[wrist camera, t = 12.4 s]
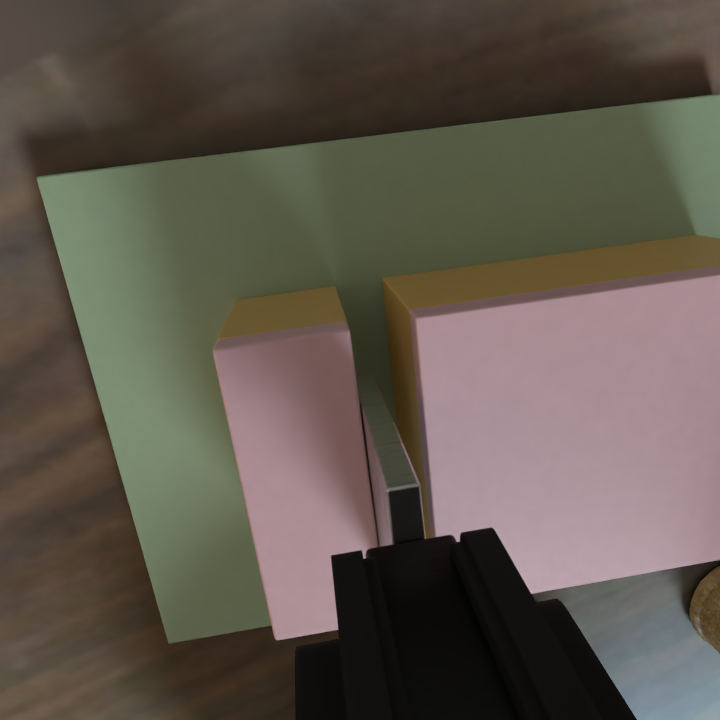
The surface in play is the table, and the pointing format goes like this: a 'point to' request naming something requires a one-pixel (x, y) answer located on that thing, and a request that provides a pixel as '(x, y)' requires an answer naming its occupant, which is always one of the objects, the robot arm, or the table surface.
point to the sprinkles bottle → (707, 609)
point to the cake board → (325, 282)
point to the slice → (297, 448)
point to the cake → (567, 405)
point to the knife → (424, 587)
